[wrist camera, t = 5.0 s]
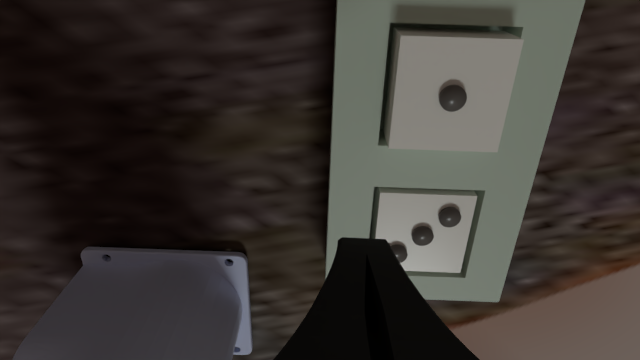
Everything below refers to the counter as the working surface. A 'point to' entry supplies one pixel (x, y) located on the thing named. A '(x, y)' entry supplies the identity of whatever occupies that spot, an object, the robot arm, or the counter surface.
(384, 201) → the tile three pips
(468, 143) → the tile one pip
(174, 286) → the robot arm
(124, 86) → the counter surface
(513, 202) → the button board
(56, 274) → the counter surface
